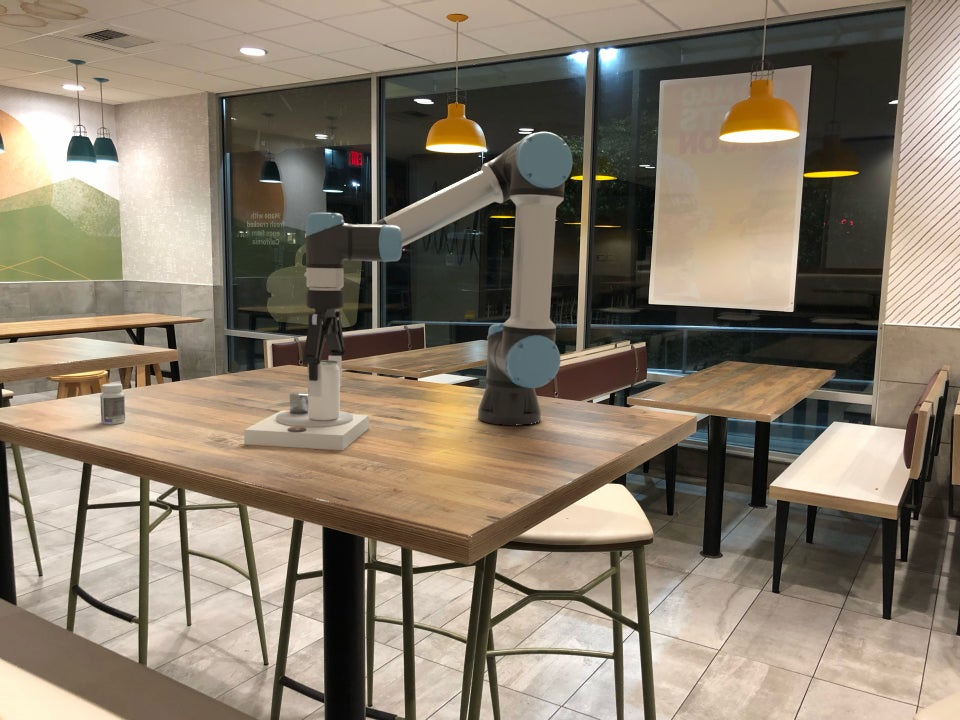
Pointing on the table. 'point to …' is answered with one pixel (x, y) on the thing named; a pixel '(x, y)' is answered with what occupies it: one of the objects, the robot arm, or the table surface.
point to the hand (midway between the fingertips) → (325, 390)
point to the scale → (306, 431)
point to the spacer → (299, 403)
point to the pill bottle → (112, 404)
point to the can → (327, 394)
